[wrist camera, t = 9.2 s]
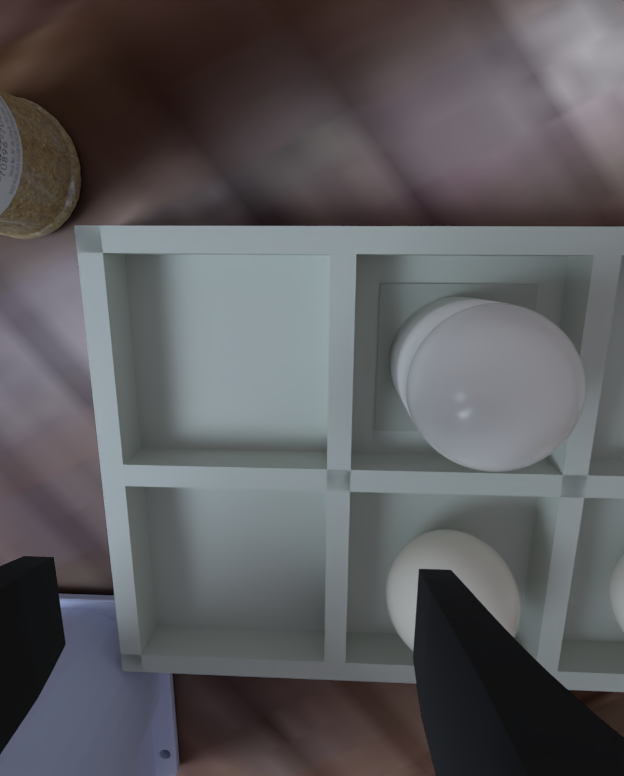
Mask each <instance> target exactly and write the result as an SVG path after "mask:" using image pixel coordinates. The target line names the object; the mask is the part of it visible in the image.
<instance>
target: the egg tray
mask: <svg viewBox="0 0 624 776" xmlns="http://www.w3.org/2000/svg"><path fill="white" fill-rule="evenodd" d="M74 227H75V236H76V245H77V254H78V264H79V273H80V282H81V291H82V301H83V310H84V319H85V328H86V338H87V347H88V356H89V365H90V375H91V384H92V393H93V402H94V412H95V421H96V430H97V439H98V449H99V458H100V467H101V476H102V486H103V495H104V504H105V514H106V523H107V532H108V541H109V551H110V560H111V569H112V578H113V588H114V597H115V606H116V615H117V625H118V634H119V643H120V652H121V662H122V671H127V672H151V673H175V674H199V675H223V676H247V677H271V678H295V679H319V680H343V681H367V682H391V683H415V684H416V677H415V670H414V662H413V651H412V650H411V649H410V648H409V647H408V646H407V645H406V644H405V643H404V642H403V640H402V639H401V637H400V636H399V635H398V633H397V631H396V629H395V628H394V626H393V623H392V621H391V619H390V616H389V612H388V608H387V603H386V582H387V576H388V572H389V569H390V567H391V564H392V562H393V560H394V558H395V557H396V555H397V554H398V552H399V551H400V550H401V549H402V548H403V546H404V545H406V544H407V543H408V542H409V541H410V540H412V539H413V538H415V537H417V536H418V535H421V534H423V533H426V532H429V531H433V530H439V529H451V530H458V531H462V532H466V533H469V534H472V535H474V536H476V537H478V538H479V539H481V540H483V541H484V542H486V543H487V544H489V545H490V546H491V547H492V548H493V549H494V550H495V551H497V552H498V553H499V555H500V556H501V557H502V558H503V559H504V561H505V562H506V564H507V565H508V567H509V568H510V570H511V572H512V574H513V576H514V579H515V581H516V584H517V588H518V591H519V596H520V619H519V624H518V628H517V631H516V634H515V636H514V638H515V639H516V640H517V641H518V642H519V643H520V644H521V645H522V646H523V648H524V649H525V650H526V651H527V652H528V653H529V654H530V655H531V656H532V657H533V658H534V659H536V660H537V661H538V662H539V663H540V664H541V665H542V666H543V667H544V668H545V669H546V670H547V671H548V672H549V673H550V674H551V675H552V676H553V677H555V678H556V679H557V680H558V681H559V682H560V683H561V684H562V685H563V686H564V687H565V688H566V689H568V690H583V691H607V692H624V633H623V632H622V630H621V629H620V627H619V625H618V624H617V622H616V619H615V617H614V615H613V612H612V609H611V606H610V602H609V593H608V584H609V578H610V574H611V571H612V568H613V566H614V564H615V563H616V561H617V560H618V558H619V557H620V556H621V555H622V554H623V553H624V227H583V226H74ZM452 296H462V297H471V298H477V299H483V300H490V301H496V302H502V303H508V304H513V305H518V306H522V307H525V308H528V309H530V310H533V311H536V312H538V313H539V314H541V315H543V316H545V317H547V318H548V319H549V320H551V321H552V322H553V323H555V324H556V325H557V326H558V327H559V328H560V329H561V330H562V331H563V332H564V333H565V334H566V335H567V336H568V337H569V339H570V340H571V342H572V343H573V345H574V346H575V348H576V350H577V352H578V354H579V356H580V359H581V361H582V364H583V368H584V373H585V382H586V394H585V402H584V406H583V410H582V413H581V416H580V419H579V421H578V423H577V425H576V426H575V428H574V430H573V431H572V433H571V434H570V436H569V437H568V438H567V439H566V440H565V442H564V443H563V444H562V445H561V446H560V447H559V448H558V449H556V450H555V451H554V452H553V453H551V454H550V455H549V456H547V457H546V458H544V459H542V460H540V461H538V462H537V463H534V464H532V465H529V466H527V467H523V468H519V469H515V470H509V471H498V472H491V471H481V470H477V469H472V468H468V467H465V466H462V465H459V464H457V463H455V462H453V461H451V460H449V459H447V458H446V457H444V456H443V455H441V454H440V453H438V452H437V451H436V450H435V449H434V448H433V447H431V446H430V445H429V444H428V442H427V441H426V440H425V439H424V438H423V436H422V435H421V434H420V433H419V431H418V429H417V428H416V426H415V425H414V423H413V421H412V419H411V417H410V415H409V413H408V412H407V410H406V408H405V406H404V404H403V402H402V401H401V399H400V397H399V395H398V393H397V391H396V389H395V387H394V385H393V382H392V379H391V375H390V369H389V357H390V350H391V346H392V343H393V340H394V338H395V335H396V333H397V332H398V330H399V328H400V327H401V325H402V324H403V323H404V321H405V320H406V319H407V318H408V317H409V316H410V315H411V314H412V313H413V312H415V311H416V310H417V309H418V308H420V307H422V306H423V305H425V304H427V303H429V302H431V301H434V300H437V299H440V298H445V297H452Z"/></svg>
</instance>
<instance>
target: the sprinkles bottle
mask: <svg viewBox="0 0 624 776" xmlns="http://www.w3.org/2000/svg"><path fill="white" fill-rule="evenodd" d="M80 188H81V176H80V163H79V159H78V156H77V153H76V150H75V146H74V144H73V142H72V140H71V138H70V137H69V135H68V134H67V132H66V131H65V129H64V128H63V127H62V126H61V125H60V123H59V122H58V120H57V119H56V118H55V117H53V116H52V115H51V114H49V113H48V112H47V111H46V110H45V109H43V108H42V107H41V106H39V105H38V104H36V103H34V102H32V101H29V100H27V99H24V98H20V97H15V96H13V95H10V94H8V93H7V92H5V91H3V90H1V89H0V234H1V235H5V236H10V237H13V238H17V239H34V238H38V237H42V236H46V235H49V234H51V233H52V232H53V231H55V230H57V229H58V228H60V227H61V226H62V224H63V223H64V222H65V221H66V220H67V219H68V218H69V217H70V216H71V213H72V211H73V210H74V208H75V206H76V204H77V202H78V200H79V194H80Z"/></svg>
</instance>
